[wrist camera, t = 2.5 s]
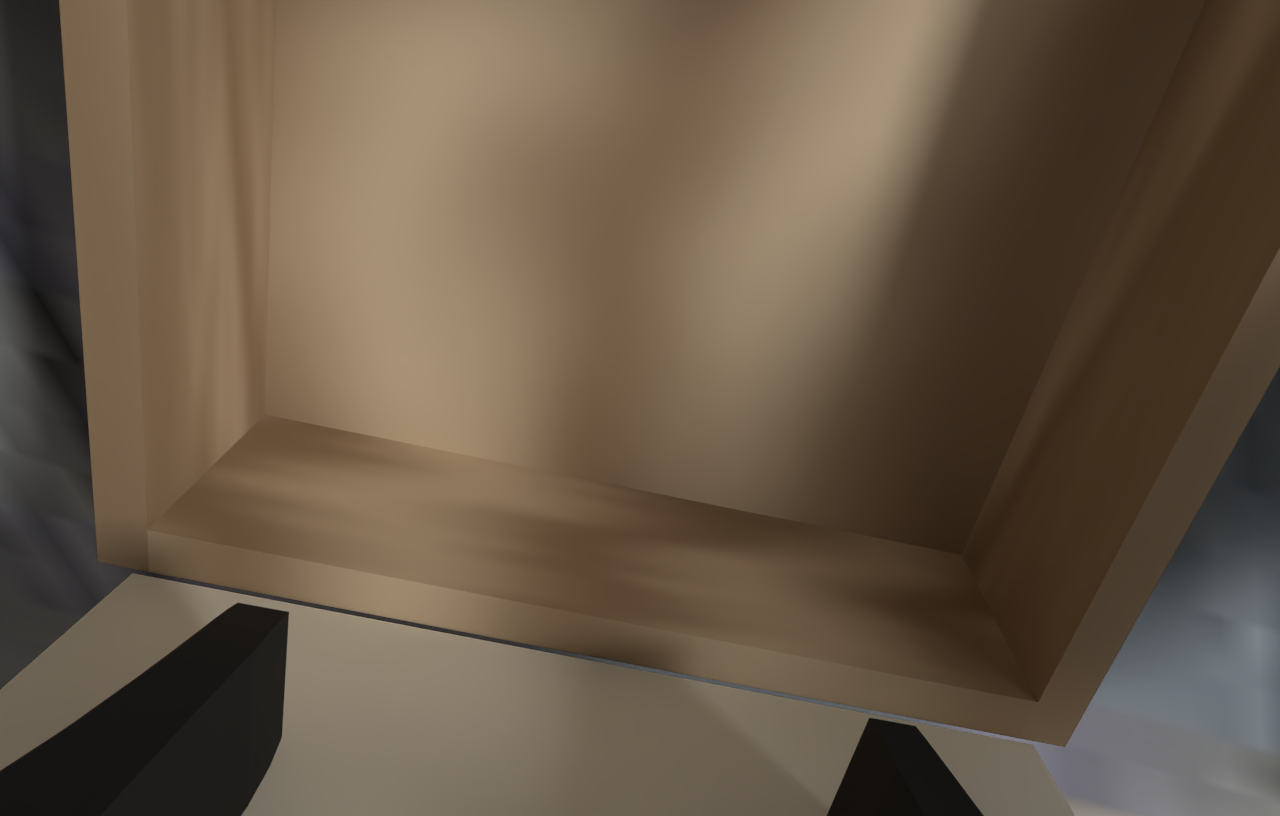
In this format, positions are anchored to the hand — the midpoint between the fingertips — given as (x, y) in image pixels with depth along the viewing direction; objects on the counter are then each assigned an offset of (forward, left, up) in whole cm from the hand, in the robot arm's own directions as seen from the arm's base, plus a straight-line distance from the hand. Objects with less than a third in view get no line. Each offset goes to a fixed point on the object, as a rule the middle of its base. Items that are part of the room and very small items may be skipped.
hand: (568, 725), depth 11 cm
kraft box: (0, -7, -8) cm, 10 cm away
